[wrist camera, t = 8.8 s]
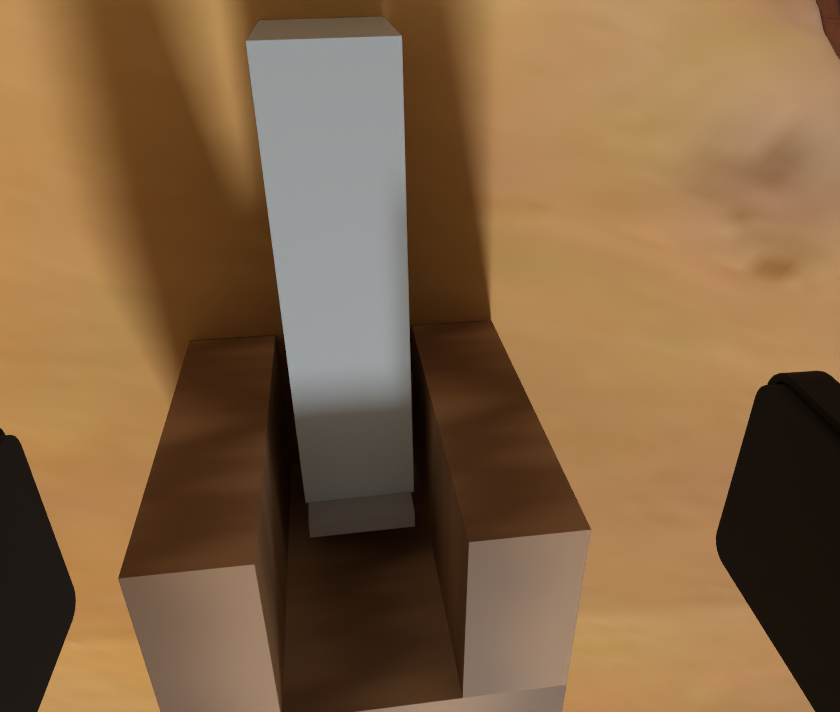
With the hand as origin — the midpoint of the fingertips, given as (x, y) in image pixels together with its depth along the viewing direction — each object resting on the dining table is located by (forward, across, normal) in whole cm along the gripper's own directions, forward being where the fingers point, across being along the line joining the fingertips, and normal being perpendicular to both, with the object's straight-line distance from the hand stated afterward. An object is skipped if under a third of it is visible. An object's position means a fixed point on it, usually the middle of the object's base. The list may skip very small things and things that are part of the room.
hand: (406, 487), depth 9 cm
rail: (+16, +1, +3) cm, 16 cm away
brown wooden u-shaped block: (+16, +1, +10) cm, 19 cm away
